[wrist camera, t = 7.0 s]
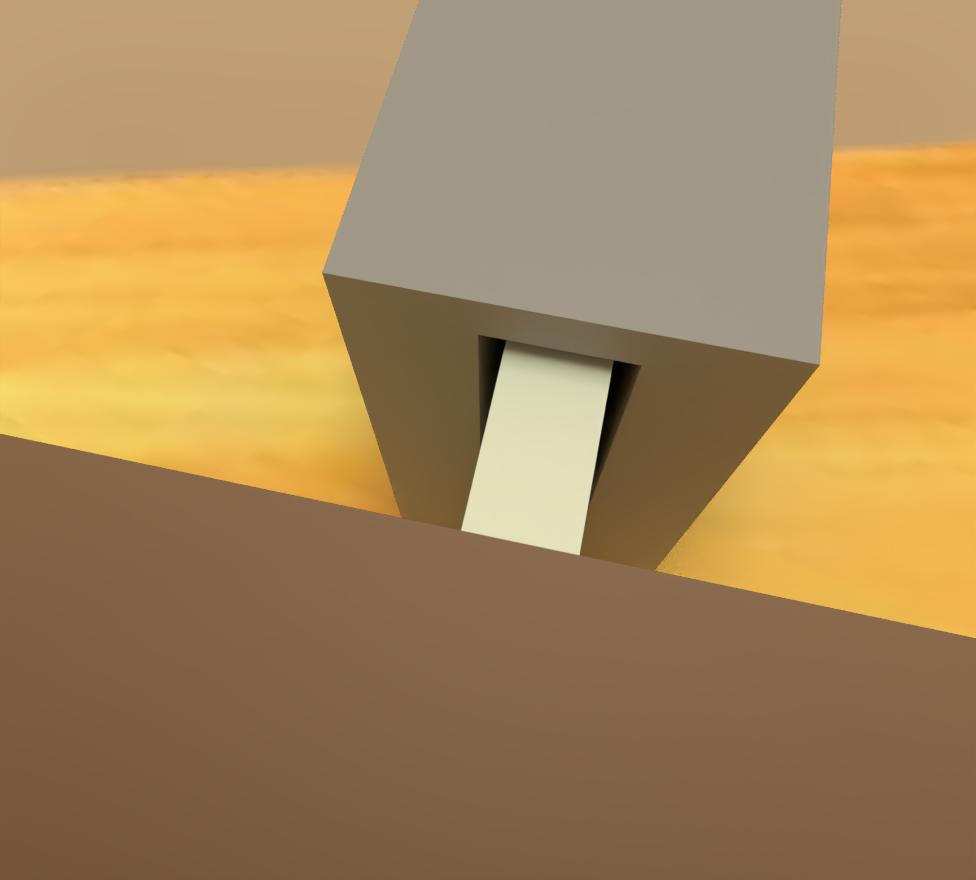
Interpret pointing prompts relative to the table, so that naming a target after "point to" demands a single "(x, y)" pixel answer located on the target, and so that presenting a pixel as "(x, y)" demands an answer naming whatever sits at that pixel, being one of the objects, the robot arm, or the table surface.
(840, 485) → the table surface
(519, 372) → the pocket door
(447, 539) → the wooden post on base
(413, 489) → the pocket wall
